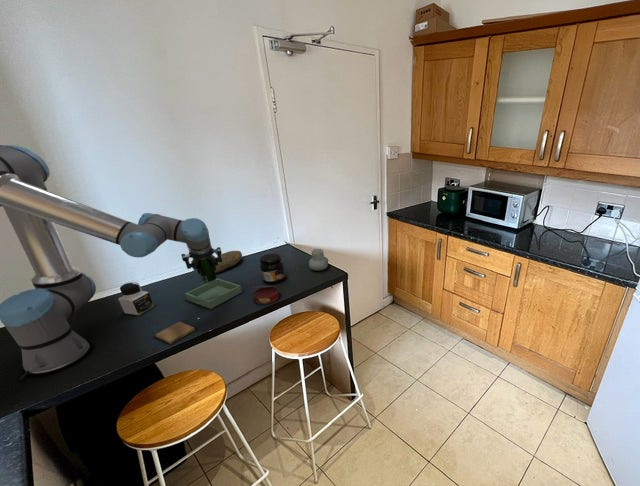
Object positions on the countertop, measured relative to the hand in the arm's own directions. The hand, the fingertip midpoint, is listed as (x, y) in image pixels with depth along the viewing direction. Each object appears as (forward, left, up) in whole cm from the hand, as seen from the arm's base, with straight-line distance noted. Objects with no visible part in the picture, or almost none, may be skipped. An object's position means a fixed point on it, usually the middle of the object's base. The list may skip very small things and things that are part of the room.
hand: (206, 269), depth 136 cm
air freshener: (+41, -27, -12) cm, 50 cm away
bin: (-2, -3, -12) cm, 12 cm away
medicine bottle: (-23, +15, -12) cm, 29 cm away
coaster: (-26, -14, -12) cm, 32 cm away
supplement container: (+21, -15, -12) cm, 29 cm away
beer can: (-2, -3, -4) cm, 5 cm away
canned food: (+7, -25, -12) cm, 29 cm away
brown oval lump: (+21, +19, -12) cm, 31 cm away
